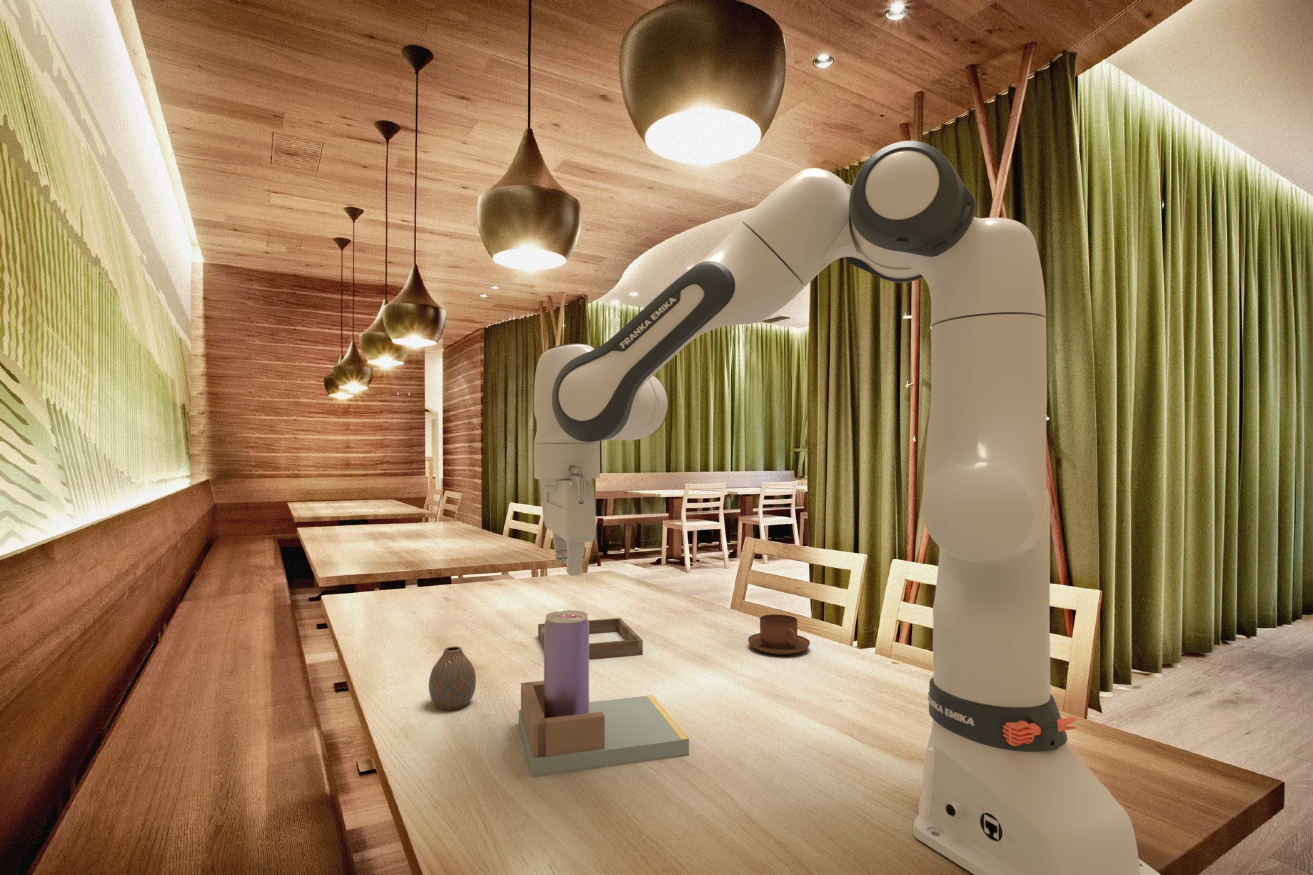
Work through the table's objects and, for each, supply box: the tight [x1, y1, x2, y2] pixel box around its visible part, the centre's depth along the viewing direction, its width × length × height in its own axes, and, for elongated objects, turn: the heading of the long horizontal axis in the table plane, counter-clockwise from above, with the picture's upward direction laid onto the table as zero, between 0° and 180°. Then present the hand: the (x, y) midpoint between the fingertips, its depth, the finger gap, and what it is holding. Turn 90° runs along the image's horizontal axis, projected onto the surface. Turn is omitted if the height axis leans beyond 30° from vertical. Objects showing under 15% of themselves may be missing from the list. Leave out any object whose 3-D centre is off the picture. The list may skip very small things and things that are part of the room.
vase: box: [428, 645, 477, 711], centre depth 101 cm, size 7×7×9 cm
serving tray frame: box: [537, 617, 644, 661], centre depth 131 cm, size 18×18×3 cm
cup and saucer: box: [747, 613, 811, 656], centre depth 130 cm, size 12×12×6 cm
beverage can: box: [543, 609, 590, 718], centre depth 88 cm, size 6×6×15 cm
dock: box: [518, 680, 690, 778], centre depth 89 cm, size 16×20×6 cm
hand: (567, 568), depth 88 cm, fingers open, 8 cm apart
